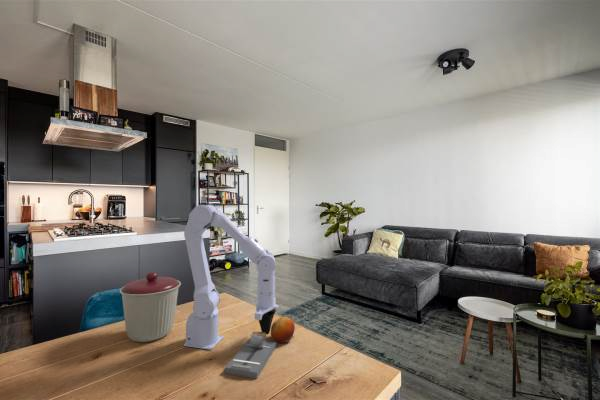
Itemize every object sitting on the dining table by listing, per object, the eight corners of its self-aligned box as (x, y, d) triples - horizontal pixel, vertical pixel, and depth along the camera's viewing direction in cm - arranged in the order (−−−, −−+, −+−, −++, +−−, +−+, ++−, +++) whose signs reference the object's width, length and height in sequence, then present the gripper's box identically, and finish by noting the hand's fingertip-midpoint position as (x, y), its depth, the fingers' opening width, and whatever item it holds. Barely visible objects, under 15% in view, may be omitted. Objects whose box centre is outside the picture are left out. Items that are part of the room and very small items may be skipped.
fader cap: (250, 346, 80) (250, 334, 81) (253, 342, 83) (253, 330, 83) (263, 348, 80) (263, 335, 80) (265, 344, 82) (265, 331, 82)
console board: (224, 373, 70) (224, 364, 70) (249, 342, 86) (249, 335, 86) (257, 378, 68) (257, 369, 68) (276, 346, 84) (276, 339, 84)
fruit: (297, 342, 84) (284, 319, 85) (276, 353, 85) (264, 330, 86) (302, 330, 92) (290, 309, 93) (283, 340, 93) (271, 319, 94)
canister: (190, 325, 98) (191, 267, 99) (155, 352, 80) (157, 281, 81) (146, 321, 101) (147, 265, 102) (103, 345, 84) (105, 277, 84)
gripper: (270, 299, 80) (270, 346, 80) (284, 285, 94) (283, 324, 94) (248, 297, 81) (247, 343, 81) (265, 284, 96) (264, 322, 95)
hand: (265, 333), depth 88 cm, fingers closed
